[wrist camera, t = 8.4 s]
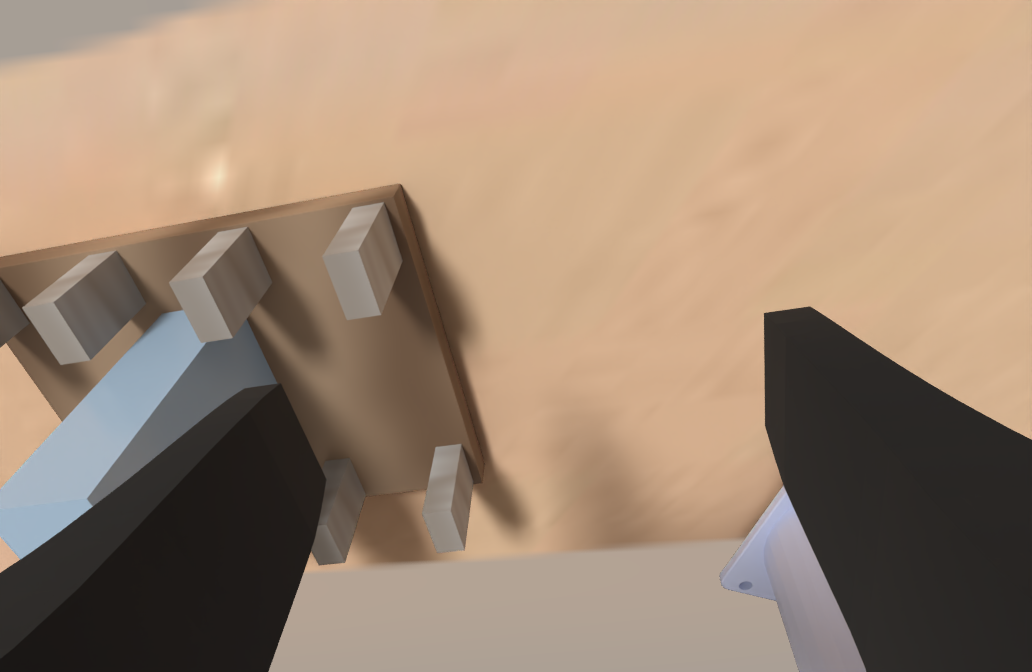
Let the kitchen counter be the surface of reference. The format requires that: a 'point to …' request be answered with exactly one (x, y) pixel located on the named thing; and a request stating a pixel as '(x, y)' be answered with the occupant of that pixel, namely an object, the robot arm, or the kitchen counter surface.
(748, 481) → the kitchen counter surface
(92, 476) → the slate-blue tile
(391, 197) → the walnut rack
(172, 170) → the kitchen counter surface
